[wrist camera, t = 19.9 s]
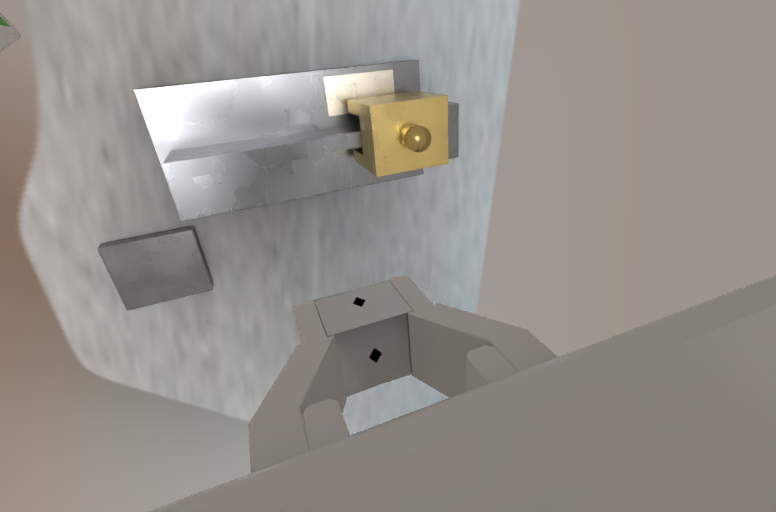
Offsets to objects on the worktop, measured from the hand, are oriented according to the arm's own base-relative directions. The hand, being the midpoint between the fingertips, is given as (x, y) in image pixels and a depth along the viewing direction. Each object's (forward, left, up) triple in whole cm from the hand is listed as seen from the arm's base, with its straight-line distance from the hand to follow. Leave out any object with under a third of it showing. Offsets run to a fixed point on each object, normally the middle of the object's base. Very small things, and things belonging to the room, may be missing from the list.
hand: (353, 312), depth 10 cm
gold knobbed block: (0, -10, -25) cm, 27 cm away
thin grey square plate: (-9, +11, -27) cm, 31 cm away
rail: (0, -3, -27) cm, 27 cm away
